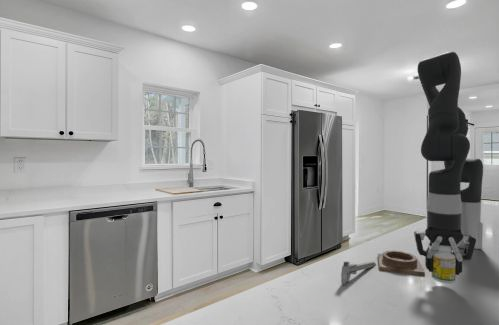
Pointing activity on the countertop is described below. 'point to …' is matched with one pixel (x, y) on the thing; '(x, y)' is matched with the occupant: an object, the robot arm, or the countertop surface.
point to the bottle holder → (400, 262)
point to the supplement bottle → (444, 265)
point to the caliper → (353, 270)
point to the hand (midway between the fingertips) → (443, 272)
